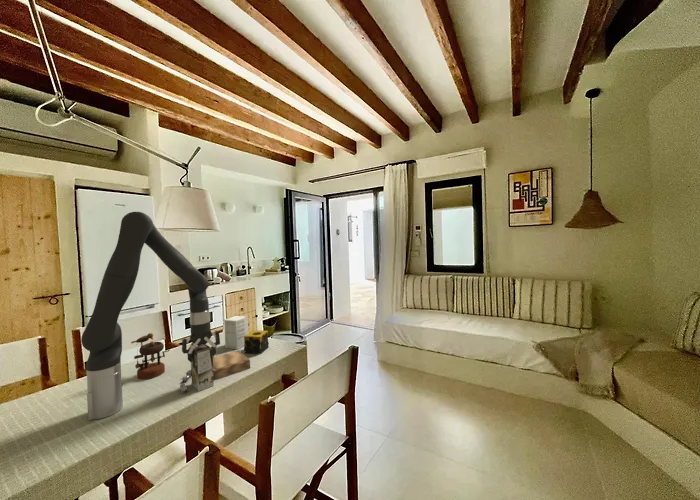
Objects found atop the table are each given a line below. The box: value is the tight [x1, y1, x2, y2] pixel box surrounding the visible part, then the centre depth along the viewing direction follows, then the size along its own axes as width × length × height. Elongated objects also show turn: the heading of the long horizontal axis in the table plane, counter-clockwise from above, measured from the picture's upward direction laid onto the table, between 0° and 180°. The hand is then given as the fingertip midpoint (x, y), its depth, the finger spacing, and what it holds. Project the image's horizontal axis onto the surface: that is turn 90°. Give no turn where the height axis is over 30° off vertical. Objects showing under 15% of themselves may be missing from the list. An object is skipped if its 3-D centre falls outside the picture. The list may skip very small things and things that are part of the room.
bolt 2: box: [179, 382, 190, 394], centre depth 111 cm, size 6×3×3 cm, turn 41°
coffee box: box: [190, 343, 215, 392], centre depth 115 cm, size 9×6×16 cm
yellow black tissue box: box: [243, 329, 270, 355], centre depth 152 cm, size 10×10×10 cm
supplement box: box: [223, 315, 249, 350], centre depth 159 cm, size 10×9×17 cm
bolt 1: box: [182, 369, 192, 383], centre depth 121 cm, size 6×3×3 cm, turn 11°
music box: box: [130, 332, 170, 381], centre depth 127 cm, size 15×11×20 cm
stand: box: [213, 349, 251, 380], centre depth 131 cm, size 16×16×4 cm
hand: (202, 358), depth 115 cm, fingers open, 8 cm apart
